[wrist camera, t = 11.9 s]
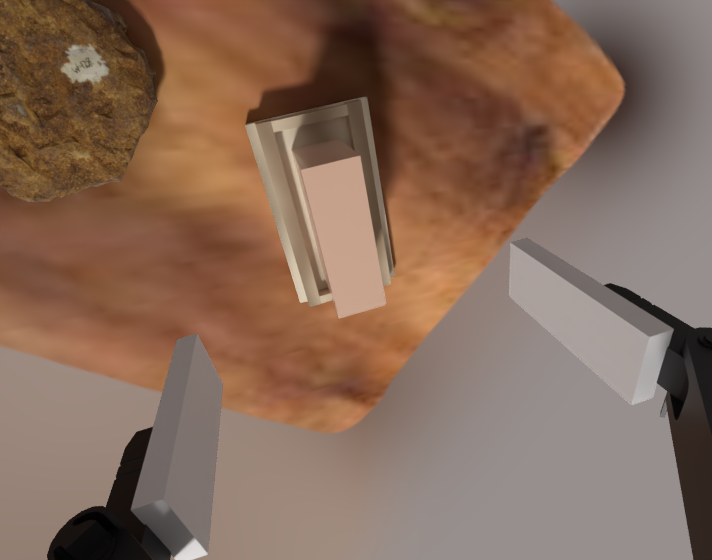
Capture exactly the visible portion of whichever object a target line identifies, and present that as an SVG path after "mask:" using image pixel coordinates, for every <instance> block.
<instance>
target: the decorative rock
mask: <svg viewBox="0 0 712 560" xmlns="http://www.w3.org/2000/svg"><path fill="white" fill-rule="evenodd" d="M127 29H128V24H127V23H126V22H125V20H124V19H123V18H122V16H121V15H120V14H118V13H117V12H114V11H113V10H111V9H109V8H107V7H104V6H102V5H100V4H97V3H95V2H92V1H91V0H0V186H1V187H3V188H4V189H5V190H6V191H7V192H8V193H9V194H10V195H11V196H12V197H17V198H20V199H22V200H24V201H28V202H31V201H33V202H45V201H52V200H53V199H54V198H56V197H63V196H65V195H68V194H76V193H78V192H80V191H82V190H84V189H86V188H89V187H91V186H95V187H98V186H101V185H103V184H106V183H109V182H118V181H120V180H121V179H122V178H123V176H124V173H125V170H126V168H127V165H128V162H130V161H131V159H132V157H133V154H134V150H135V148H136V146H137V144H138V142H139V138H140V136H141V135H142V134H143V133H144V132H145V131H146V129H147V128H148V125H149V120H150V117H151V114H152V112H153V109H154V107H155V105H156V103H157V101H158V100H157V97H156V94H155V91H154V85H153V78H154V75H155V74H156V73H155V72H154V71H153V70H152V69H151V68H149V64H148V60H147V57H146V55H145V52H144V50H142V49H140V48H138V47H136V46H134V45H133V44H132V43H131V41H130V40H129V39H128V37H127V36H126V35H125V33H126V32H127Z"/></svg>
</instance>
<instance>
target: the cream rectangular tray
mask: <svg viewBox="0 0 712 560" xmlns="http://www.w3.org/2000/svg"><path fill="white" fill-rule="evenodd" d="M245 126H246V130H247V133H248V136H249V139H250V142H251V146H252V149H253V152H254V155H255V159H256V162H257V165H258V168H259V171H260V175H261V178H262V181H263V184H264V187H265V191H266V194H267V197H268V200H269V204H270V207H271V210H272V213H273V216H274V220H275V223H276V226H277V229H278V233H279V236H280V239H281V242H282V245H283V249H284V252H285V255H286V258H287V261H288V265H289V268H290V271H291V274H292V278H293V281H294V284H295V287H296V290H297V294H298V297H299V300H300V303H302V302H306V301H308V303H309V307H312V306H315V305H319V304H321V303H324V302H328V301H331V300H332V297H331V294H330V291H329V288H328V285H327V282H326V279H325V276H324V273H323V269H322V265H321V261H320V257H319V254H318V250H317V246H316V242H315V238H314V235H313V231H312V227H311V223H310V219H309V215H308V212H307V208H306V204H305V200H304V196H303V193H302V189H301V185H300V181H299V177H298V174H297V170H296V166H295V162H294V158H293V154H292V151H291V149H295V148H300V147H304V146H308V145H312V144H316V143H321V142H325V141H329V140H333V139H337V138H338V139H339V140H341V141H342V142H343V143H345V144H346V145H347V146H349V147H350V148H351V149H352V150H354V151H355V152H356V153H358V154H359V155H360V157H361V163H362V169H363V174H364V180H365V186H366V191H367V197H368V203H369V208H370V214H371V220H372V226H373V231H374V237H375V243H376V248H377V254H378V260H379V265H380V271H381V277H382V282H383V286H386V285H389V284H391V280H390V278H391V277H395V273H394V266H393V260H392V254H391V247H390V241H389V234H388V228H387V221H386V215H385V209H384V202H383V196H382V189H381V183H380V177H379V170H378V164H377V157H376V151H375V145H374V138H373V132H372V125H371V119H370V112H369V106H368V100H367V97H360V98H356V99H352V100H347V101H343V102H338V103H334V104H330V105H325V106H321V107H317V108H312V109H308V110H303V111H299V112H295V113H290V114H286V115H282V116H277V117H273V118H268V119H264V120H260V121H255V122H251V123H247V124H245Z"/></svg>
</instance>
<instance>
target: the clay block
mask: <svg viewBox="0 0 712 560" xmlns="http://www.w3.org/2000/svg"><path fill="white" fill-rule="evenodd" d="M291 151H292V154H293V158H294V162H295V166H296V170H297V174H298V177H299V181H300V185H301V189H302V193H303V196H304V200H305V204H306V208H307V212H308V215H309V219H310V223H311V227H312V231H313V235H314V238H315V242H316V246H317V250H318V254H319V257H320V261H321V265H322V269H323V273H324V276H325V279H326V282H327V285H328V288H329V291H330V294H331V297H332V300H333V302H334V305H335V308H336V311H337V314H338V317H339V318H343V317H346V316H350V315H353V314H357V313H360V312H363V311H367V310H370V309H374V308H377V307H381V306H384V305H386V299H385V294H384V288H383V282H382V277H381V271H380V265H379V260H378V254H377V248H376V243H375V237H374V231H373V226H372V220H371V214H370V208H369V203H368V197H367V191H366V186H365V180H364V174H363V169H362V163H361V157H360V155H359V154H358V153H356V152H355V151H354V150H352V149H351V148H350V147H349V146H347V145H346V144H345V143H343V142H342V141H341V140H339V139H338V138H337V139H333V140H329V141H325V142H321V143H316V144H312V145H308V146H304V147H300V148H295V149H291Z"/></svg>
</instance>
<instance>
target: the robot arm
mask: <svg viewBox="0 0 712 560" xmlns="http://www.w3.org/2000/svg"><path fill="white" fill-rule="evenodd" d="M510 244H511V245H510V246H511V247H510V284H509V297H510V298H512V299H513V300H514V301H515V302H516V303H517V304H518V305H520V306H521V307H522V308H523V309H524V310H525V311H526V312H527V313H529V314H530V315H531V316H532V317H533V318H534V319H535V320H536V321H537V322H539V323H540V324H541V325H542V326H543V327H544V328H545V329H546V330H547V331H549V332H550V333H551V334H552V335H553V336H554V337H555V338H556V339H558V340H559V341H560V342H561V343H562V344H563V345H564V346H565V347H567V348H568V349H569V350H570V351H571V352H572V353H573V354H574V355H576V356H577V357H578V358H579V359H580V360H581V361H582V362H583V363H584V364H586V365H587V366H588V367H589V368H590V369H591V370H592V371H593V372H595V373H596V374H597V375H598V376H599V377H600V378H601V379H602V380H604V381H605V382H606V383H607V384H608V385H609V386H610V387H612V388H613V389H614V390H615V391H616V392H617V393H618V394H619V395H621V397H623V398H624V399H625V400H626V401H627V402H628V403H629V404H630V405H633V404H636V403H639V402H642V401H644V400H648V399H650V398H653V396H654V392H655V389H656V386H657V383H658V384H659V385H660V386H661V387H663V388H664V389H665V390H667V394H666V397H665V400H664V404H663V406H662V409H661V414H660V417H665V415H666V412H667V411H668V417H669V423H670V429H671V434H672V440H673V446H674V451H675V457H676V462H677V468H678V474H679V479H680V485H681V490H682V497H683V502H684V507H685V514H686V519H687V525H688V530H689V536H690V542H691V548H692V553H693V559H694V560H712V328H696V329H694V328H693V327H691V326H689V325H688V324H686V323H684V322H682V321H681V320H679V319H677V318H676V317H674V316H672V315H671V314H669V313H667V312H666V311H664V310H662V309H660V308H659V307H657V306H655V305H652V304H651V303H650V302H649V301H647V300H645V299H644V298H642V299H641V297H640V296H639V295H637V294H635V293H633V292H632V291H630V290H628V289H626V288H623V287H620V286H617V285H614V284H611V283H609V284H606V285H602V284H601V283H599V282H597V281H596V280H594V279H593V278H591V277H589V276H588V275H586V274H585V273H583V272H581V271H580V270H578V269H577V268H575V267H573V266H572V265H570V264H568V263H567V262H565V261H564V260H562V259H560V258H559V257H557V256H556V255H554V254H552V253H551V252H549V251H548V250H546V249H544V248H543V247H541V246H540V245H538V244H536V243H534V242H533V241H531V240H530V239H528V238H525V239H521V240H518V241H514V242H511V243H510ZM222 392H223V383H222V381H221V379H220V377H219V375H218V373H217V371H216V369H215V367H214V365H213V363H212V361H211V359H210V357H209V355H208V354H207V352H206V350H205V348H204V346H203V344H202V342H201V340H200V338H199V336H198V334H194V335H190V336H187V337H184V338H180V339H177V341H176V345H175V349H174V352H173V356H172V360H171V363H170V367H169V371H168V374H167V378H166V382H165V385H164V389H163V393H162V397H161V400H160V404H159V407H158V411H157V415H156V419H155V422H154V426H153V427H151V428H148V429H144V430H141V431H138V432H136V433H135V435H134V436H133V438H132V439H131V441H130V442H129V443H128V445H127V446H126V448H125V450H124V453H123V456H122V459H121V462H120V465H121V466H120V467H119V469H118V472H117V475H116V480H115V481H114V484H113V487H112V490H111V493H110V496H109V499H108V502H107V505H106V508H105V507H103V506H95V507H91V508H88V509H86V510H84V511H81V512H80V513H78V514H77V515H76V516H75V517H73V518H72V519H70V520H69V521H68V522H67V523H66V524H65V525H64V526H63V527H62V528H61V529H60V530H59V532H58V533H57V535H56V536H55V538H54V539H53V541H52V542H51V545H50V548H49V551H48V554H47V558H48V560H170V557H171V555H172V556H173V557H174V558H175V559H176V560H193V559H196V558H199V557H202V556H204V555H207V554H208V549H209V548H208V547H209V538H210V527H211V515H212V503H213V492H214V481H215V469H216V459H217V447H218V437H219V425H220V413H221V403H222Z"/></svg>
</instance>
